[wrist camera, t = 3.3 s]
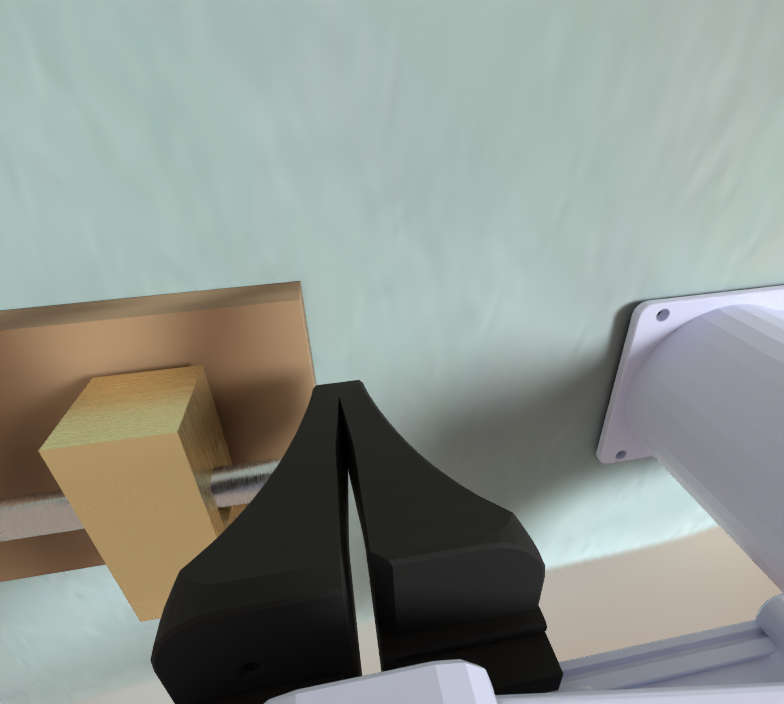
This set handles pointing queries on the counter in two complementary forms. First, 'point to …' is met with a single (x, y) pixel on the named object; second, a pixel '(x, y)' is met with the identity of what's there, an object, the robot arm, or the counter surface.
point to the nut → (143, 475)
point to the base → (132, 355)
